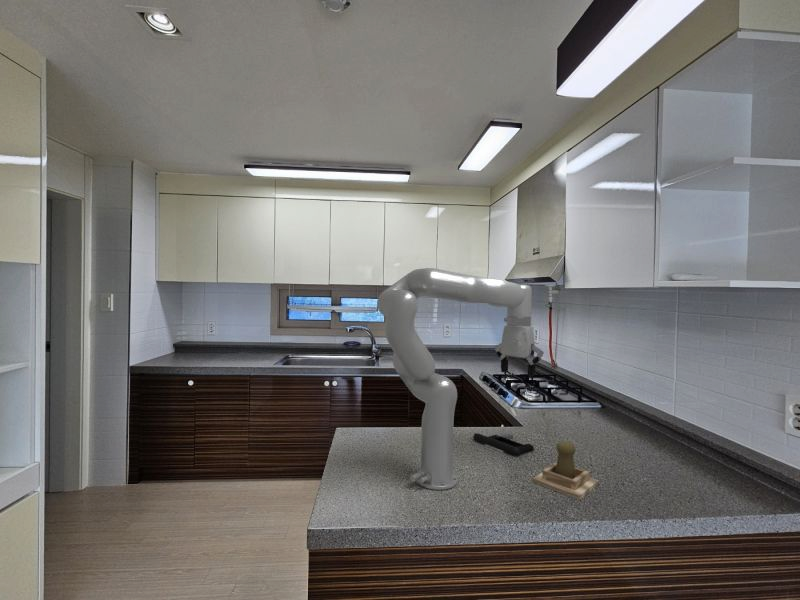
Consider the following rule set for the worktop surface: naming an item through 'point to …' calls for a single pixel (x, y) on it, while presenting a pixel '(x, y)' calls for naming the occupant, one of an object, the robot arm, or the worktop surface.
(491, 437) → the door handle
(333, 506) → the worktop surface
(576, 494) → the holder
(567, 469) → the olive tall rounded piece
